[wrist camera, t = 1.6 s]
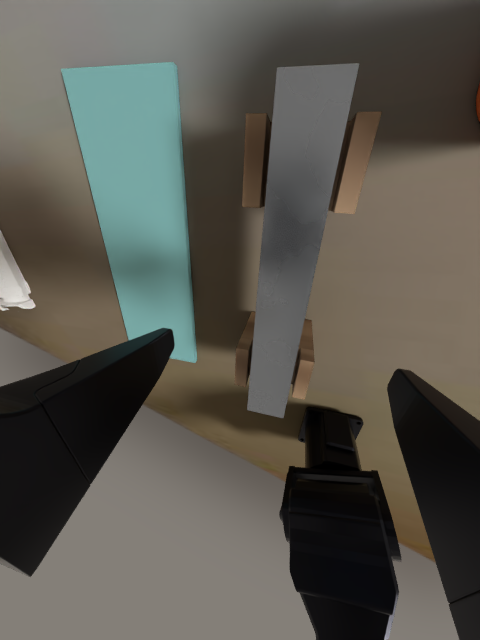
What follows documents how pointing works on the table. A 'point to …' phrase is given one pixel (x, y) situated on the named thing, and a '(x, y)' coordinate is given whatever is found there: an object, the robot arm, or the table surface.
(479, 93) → the coffee cup
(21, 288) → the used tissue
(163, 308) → the mat
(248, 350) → the stand
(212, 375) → the table surface
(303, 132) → the rail
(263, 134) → the stand
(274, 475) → the table surface
